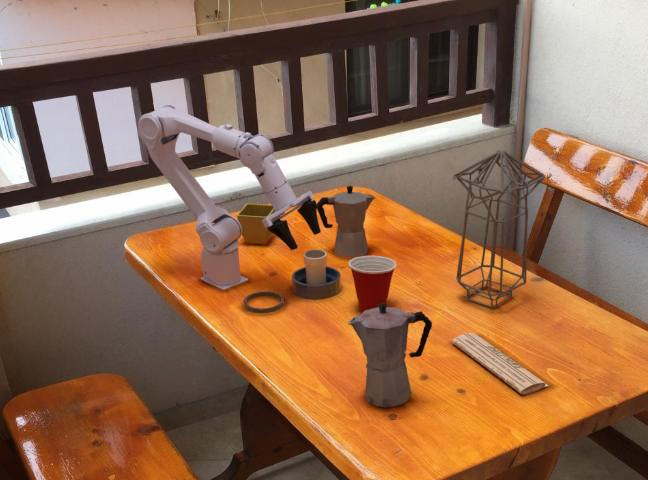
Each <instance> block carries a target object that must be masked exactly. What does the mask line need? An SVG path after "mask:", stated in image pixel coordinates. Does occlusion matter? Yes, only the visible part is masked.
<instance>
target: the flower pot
mask: <svg viewBox="0 0 648 480" xmlns="http://www.w3.org/2000/svg"><path fill="white" fill-rule="evenodd" d="M274 212H275V210H274V208H273V206H272V205H271V204H264V203H263V204H262V203H245V205H244V206H243V207H242V209H241V210H240V211H239V212H237V214H236V219H237V220H238V221H239V223H240V224H241V227H242V235H241V236H242V238H243V240H245V242H246V243H247V244H248V245H249V244H250V245H264V246H265V245H267V243H268V242H269V241H270V240H271V238H272V236H273V235H274V234H273V233H271V232H270V231H269V230H268V229H267V228H265V226H264V224H263V223H262V220H263V219H265V218H266V217H268V216H269V215H271V214H272V213H274Z"/></svg>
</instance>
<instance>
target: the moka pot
mask: <svg viewBox="0 0 648 480" xmlns="http://www.w3.org/2000/svg"><path fill="white" fill-rule="evenodd" d="M418 322H423V323H424V327H423V330H422V334H421V336H420V341H419V345H418V348H417V349H416V351H413V352H412V351H411V352H409V353H408V356H409V358H418V357H422V355H423V352H424V350H425V348H426V345H427V340H428V338H429V336H430V332H431V330H432V328H433V321H432V320H431V319H429V317H428V316H426V314H425V313H423V311H422V310H420V311H416V312H413V311H412V312H411V311H410V312H405V311H404V310H403V309H402V308H399V307H392V306H391V307H390V306H387V303H386V304H385V303H381V304H379V305H378V308H374V309H369V310H365V311H364V312H361V314H359V315H355V316H353V317H352V318H351V319H349V321H348V325H350V326H351V327H352V329H353V330H354V332H355V333H356V335H357V337H358V338H359V340H360V341H361V345H362V350H363V354H364V355H365V356H366V364H365V368H366V376H365V391H364V392H365V395H364V397H365V399H366V401H367V402H368V403H369V404H371V405H372V406H376V407H378V408H380V407H381V408H394V407H399V406H401V405H403V404H405V403H406V402H407V401H409V400H410V398H411V395H412V388H411V383H410V379H409V374H408V369H407V364H406V361H405V359H406V355H407V354H406V351H407V347H408V346H407V344H408V336H409V325H410V324H415V323H418Z"/></svg>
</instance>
